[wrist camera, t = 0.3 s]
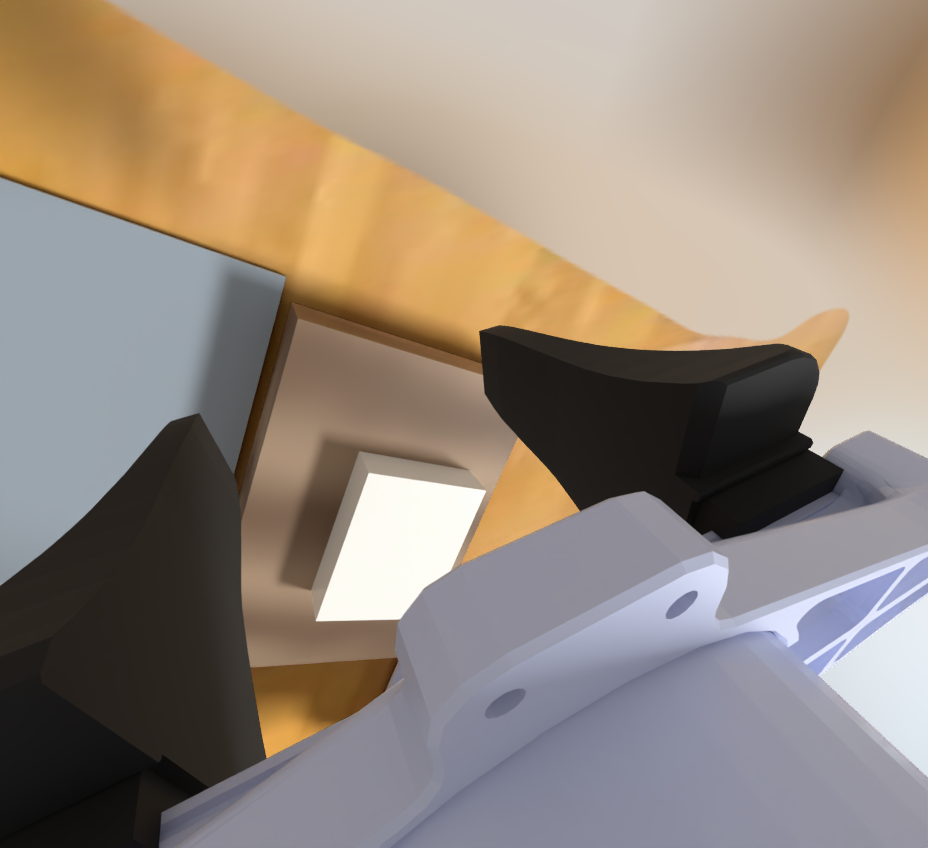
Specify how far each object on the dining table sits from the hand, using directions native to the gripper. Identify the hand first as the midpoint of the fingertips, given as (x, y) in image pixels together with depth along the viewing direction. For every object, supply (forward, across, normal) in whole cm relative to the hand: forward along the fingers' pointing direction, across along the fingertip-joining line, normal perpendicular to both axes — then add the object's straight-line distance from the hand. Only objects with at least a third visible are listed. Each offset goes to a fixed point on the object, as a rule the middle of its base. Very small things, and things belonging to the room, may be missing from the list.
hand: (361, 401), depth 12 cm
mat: (+10, +11, +5) cm, 16 cm away
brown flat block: (+9, 0, +11) cm, 15 cm away
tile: (+6, 0, +11) cm, 13 cm away
